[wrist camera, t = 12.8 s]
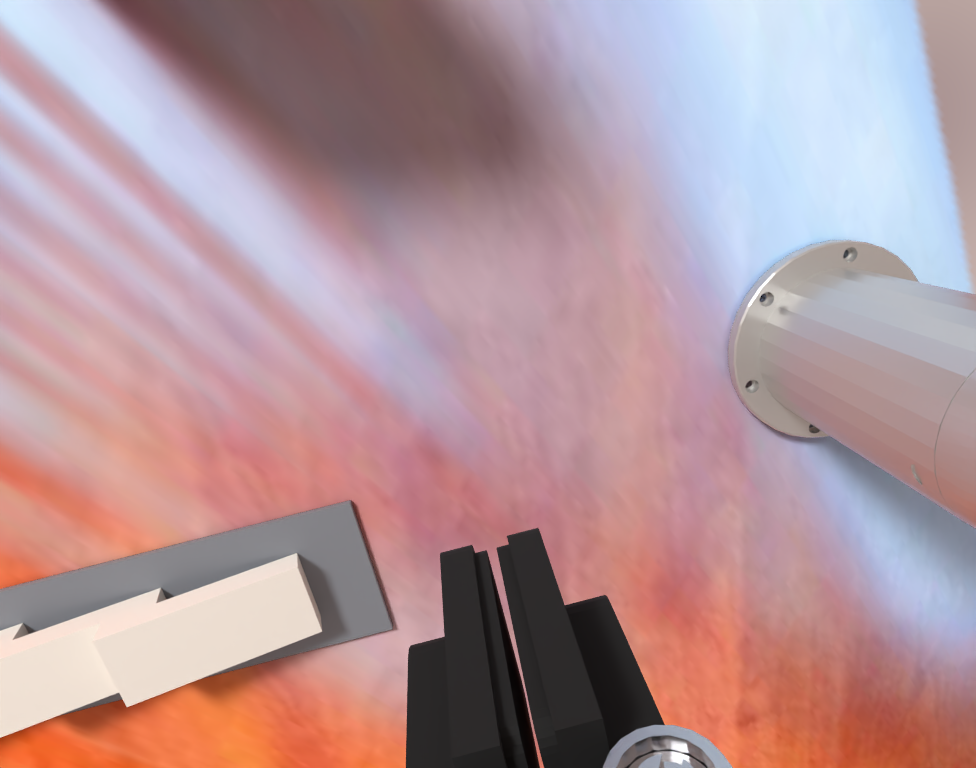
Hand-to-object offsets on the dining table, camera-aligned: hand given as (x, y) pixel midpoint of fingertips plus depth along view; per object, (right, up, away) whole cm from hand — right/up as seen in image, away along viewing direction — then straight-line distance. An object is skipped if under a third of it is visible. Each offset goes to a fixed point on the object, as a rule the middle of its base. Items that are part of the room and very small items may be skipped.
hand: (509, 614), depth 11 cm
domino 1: (-21, -12, +31) cm, 39 cm away
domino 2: (-12, -10, +31) cm, 35 cm away
